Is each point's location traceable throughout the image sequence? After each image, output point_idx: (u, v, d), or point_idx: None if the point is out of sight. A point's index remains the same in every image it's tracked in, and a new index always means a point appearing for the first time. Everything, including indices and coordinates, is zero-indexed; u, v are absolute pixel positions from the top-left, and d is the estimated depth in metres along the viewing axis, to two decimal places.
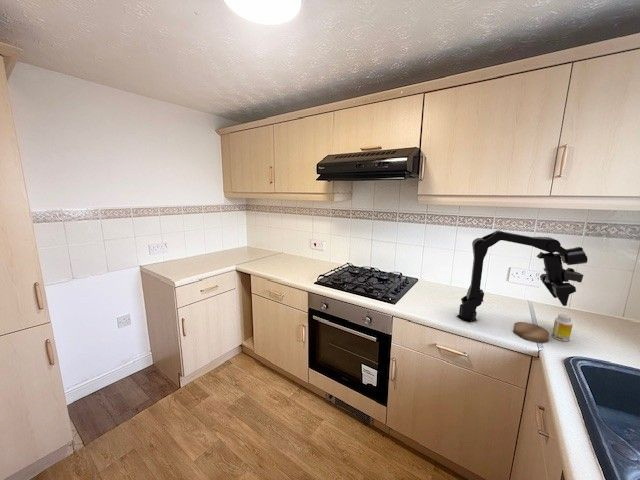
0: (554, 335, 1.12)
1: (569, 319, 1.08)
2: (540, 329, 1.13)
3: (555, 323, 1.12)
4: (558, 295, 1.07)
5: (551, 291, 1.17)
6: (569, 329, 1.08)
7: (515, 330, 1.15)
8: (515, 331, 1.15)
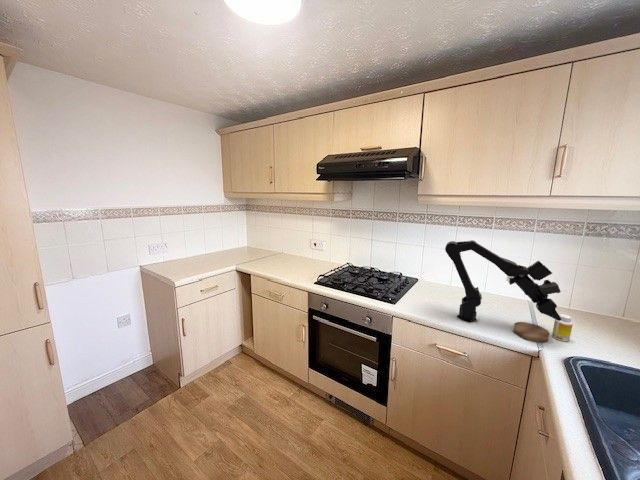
0: (554, 335, 1.12)
1: (569, 319, 1.08)
2: (540, 329, 1.13)
3: (555, 323, 1.12)
4: (546, 313, 1.08)
5: None
6: (569, 329, 1.08)
7: (515, 330, 1.15)
8: (515, 331, 1.15)
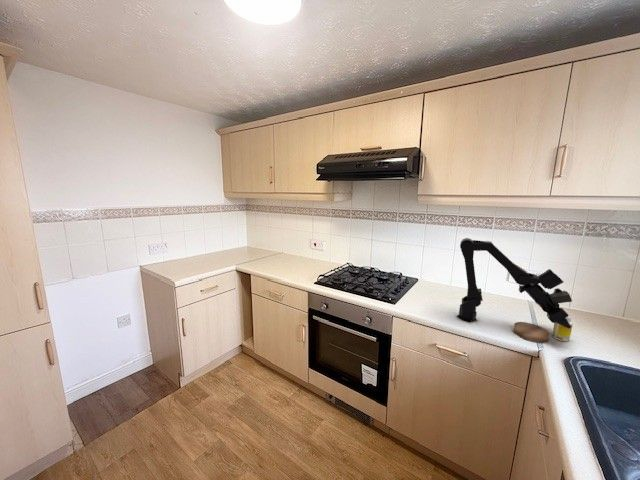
0: (554, 335, 1.12)
1: (569, 319, 1.08)
2: (540, 329, 1.13)
3: (555, 323, 1.12)
4: None
5: None
6: (569, 329, 1.08)
7: (515, 330, 1.15)
8: (515, 331, 1.15)
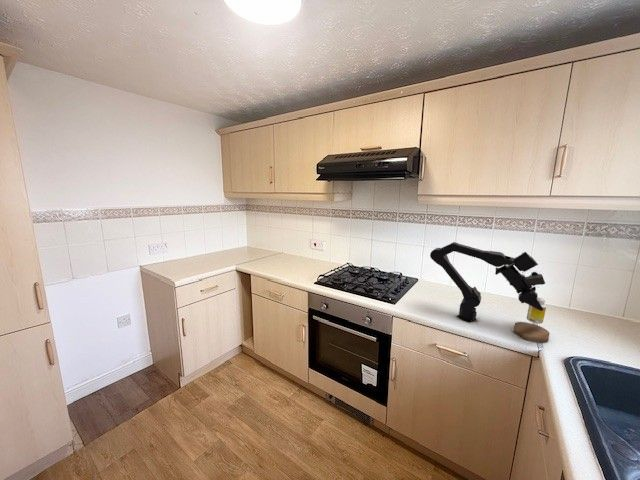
0: (528, 317, 1.13)
1: (542, 302, 1.09)
2: (540, 329, 1.13)
3: (529, 306, 1.13)
4: (527, 302, 1.09)
5: None
6: (542, 312, 1.09)
7: (515, 330, 1.15)
8: (515, 331, 1.15)
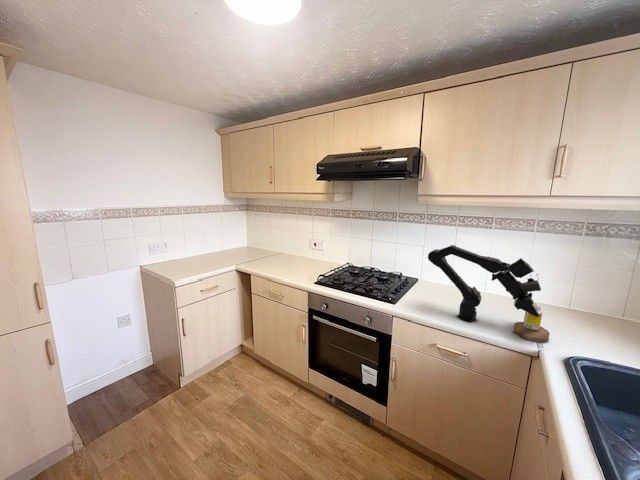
0: (524, 323, 1.14)
1: (538, 308, 1.10)
2: (540, 329, 1.13)
3: (525, 312, 1.13)
4: (523, 309, 1.10)
5: None
6: (538, 318, 1.10)
7: (515, 330, 1.15)
8: (515, 331, 1.15)
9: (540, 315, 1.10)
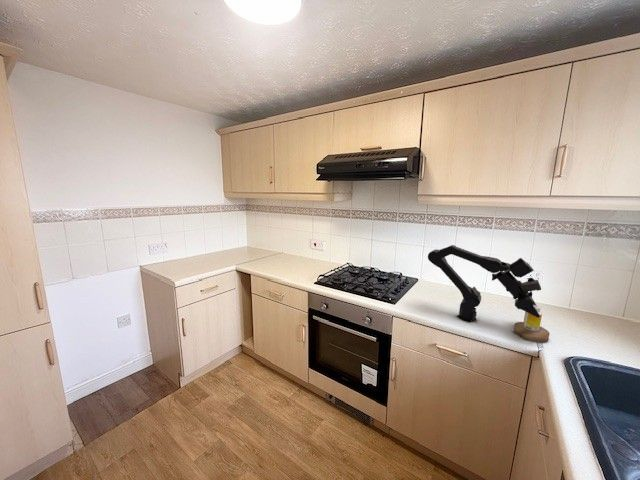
0: (524, 325, 1.14)
1: (538, 309, 1.10)
2: (540, 329, 1.13)
3: (525, 313, 1.14)
4: (524, 309, 1.09)
5: None
6: (537, 319, 1.10)
7: (515, 330, 1.15)
8: (515, 331, 1.15)
9: (540, 316, 1.10)
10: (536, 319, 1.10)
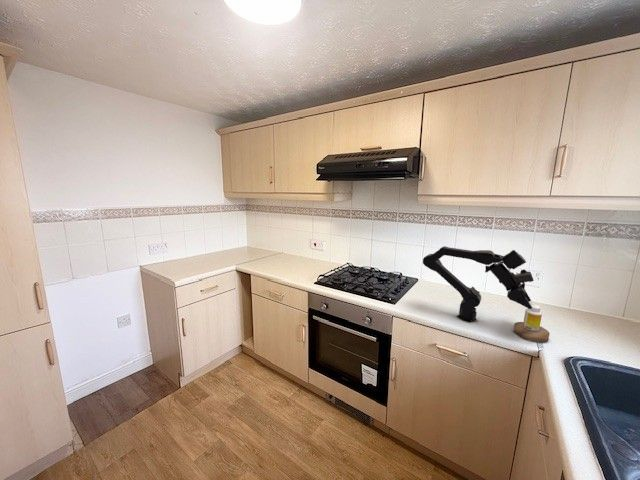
0: (524, 325, 1.14)
1: (538, 309, 1.10)
2: (540, 329, 1.13)
3: (525, 313, 1.14)
4: (516, 301, 1.10)
5: None
6: (537, 319, 1.10)
7: (515, 330, 1.15)
8: (515, 331, 1.15)
9: (540, 316, 1.10)
10: (536, 319, 1.10)
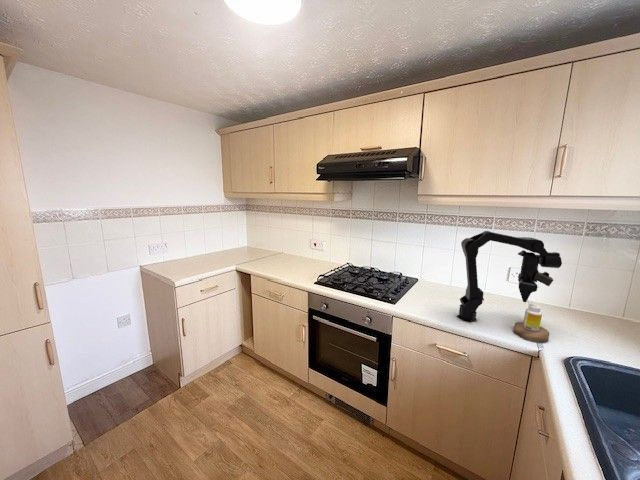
0: (524, 325, 1.14)
1: (538, 309, 1.10)
2: (540, 329, 1.13)
3: (525, 313, 1.14)
4: (521, 290, 1.16)
5: None
6: (537, 319, 1.10)
7: (515, 330, 1.15)
8: (515, 331, 1.15)
9: (540, 316, 1.10)
10: (536, 319, 1.10)
